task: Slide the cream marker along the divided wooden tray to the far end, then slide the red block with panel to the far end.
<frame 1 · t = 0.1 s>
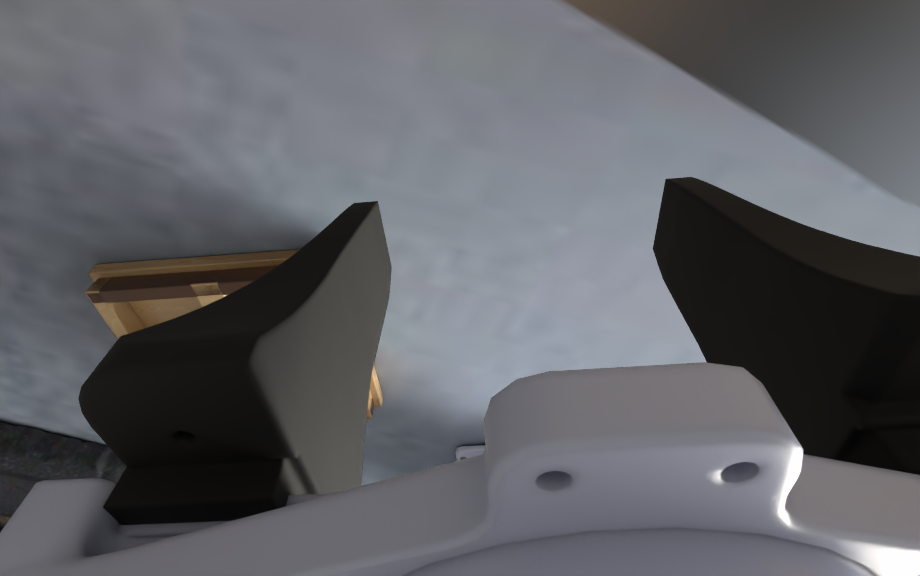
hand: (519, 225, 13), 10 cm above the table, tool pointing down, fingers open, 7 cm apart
cast iron trivet: (117, 495, 40), on the table
divided wooden tray: (255, 337, 29), on the table
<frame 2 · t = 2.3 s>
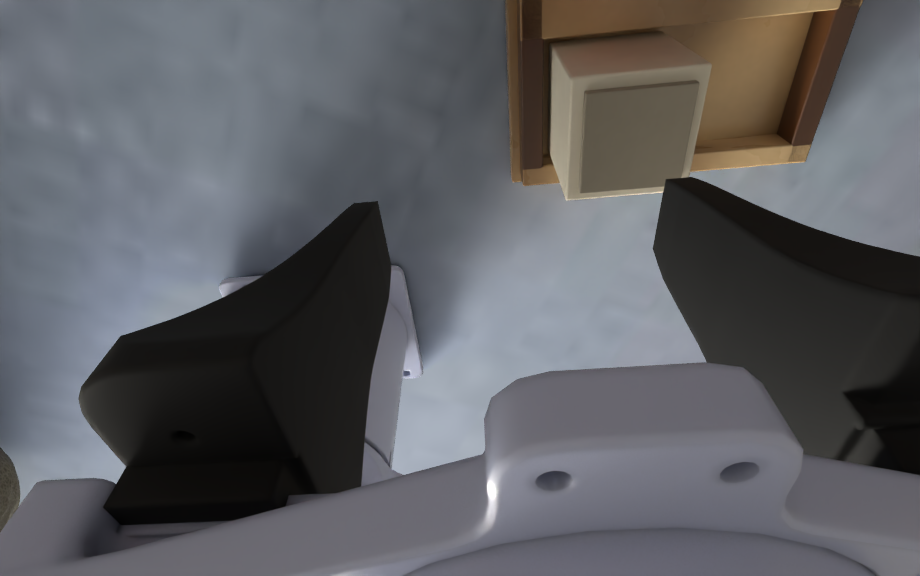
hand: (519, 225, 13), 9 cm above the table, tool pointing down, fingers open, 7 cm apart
cream marker: (616, 115, 17), point 3 cm above the table, slide at 0.0 cm
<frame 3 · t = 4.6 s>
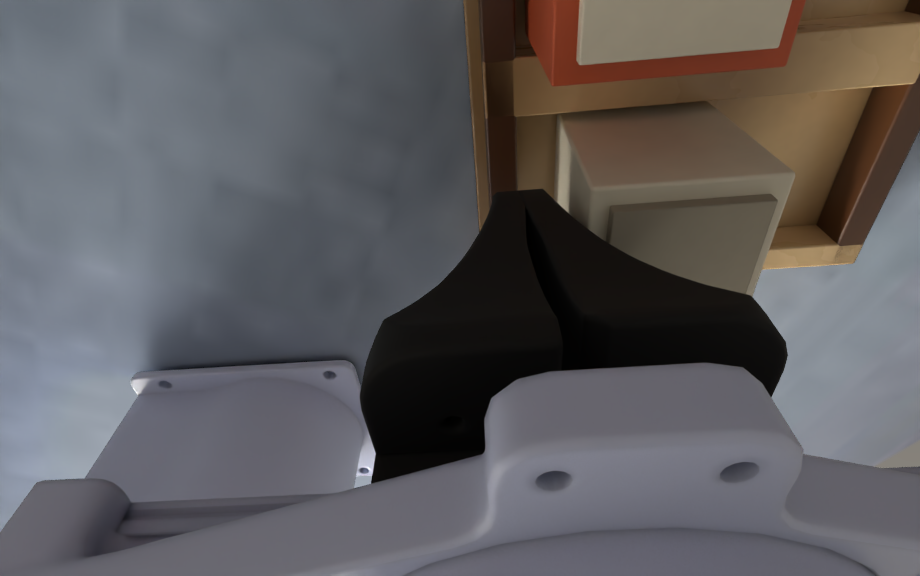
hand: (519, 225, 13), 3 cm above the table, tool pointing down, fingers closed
cream marker: (647, 216, 13), point 3 cm above the table, slide at 0.9 cm, touching gripper
divided wooden tray: (686, 51, 13), on the table
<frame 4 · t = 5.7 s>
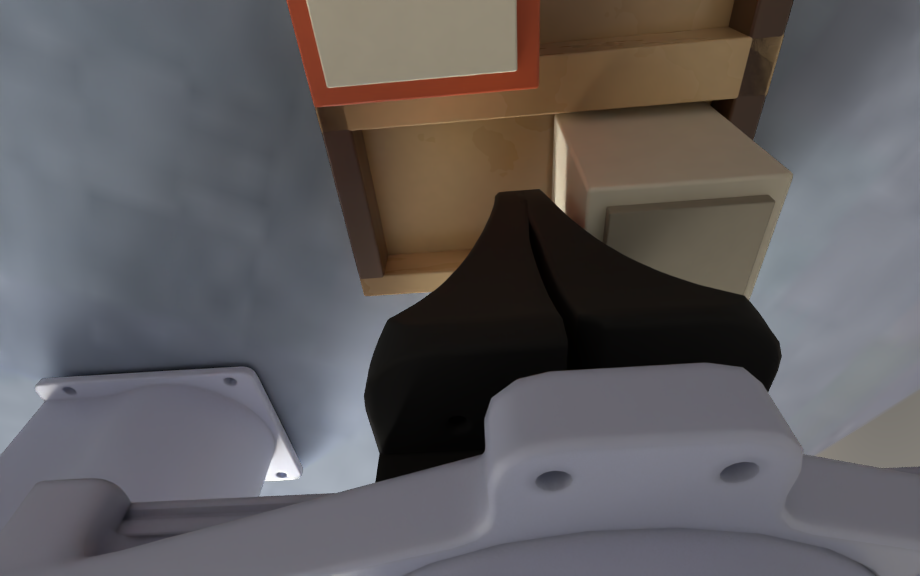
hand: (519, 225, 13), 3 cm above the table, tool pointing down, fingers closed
cream marker: (644, 216, 13), point 3 cm above the table, slide at 5.0 cm, touching gripper
divided wooden tray: (530, 65, 14), on the table
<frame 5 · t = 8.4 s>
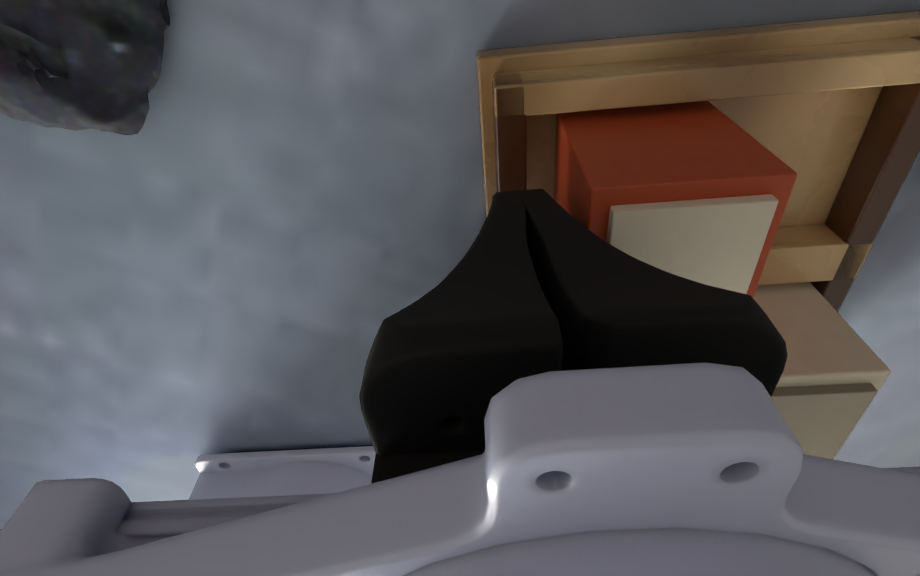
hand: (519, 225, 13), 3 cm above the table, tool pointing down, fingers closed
cream marker: (756, 368, 16), point 3 cm above the table, slide at 5.0 cm
red block with panel: (647, 216, 13), point 3 cm above the table, slide at 0.6 cm, touching gripper
divided wooden tray: (659, 239, 17), on the table
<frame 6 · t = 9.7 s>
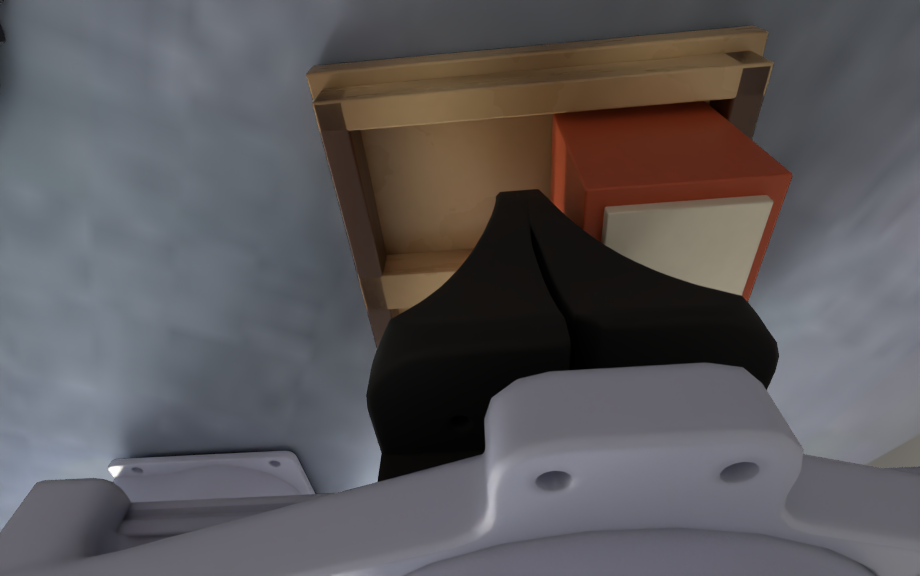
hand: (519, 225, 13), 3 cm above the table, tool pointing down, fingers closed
red block with panel: (643, 216, 13), point 3 cm above the table, slide at 5.0 cm, touching gripper
divided wooden tray: (528, 248, 17), on the table
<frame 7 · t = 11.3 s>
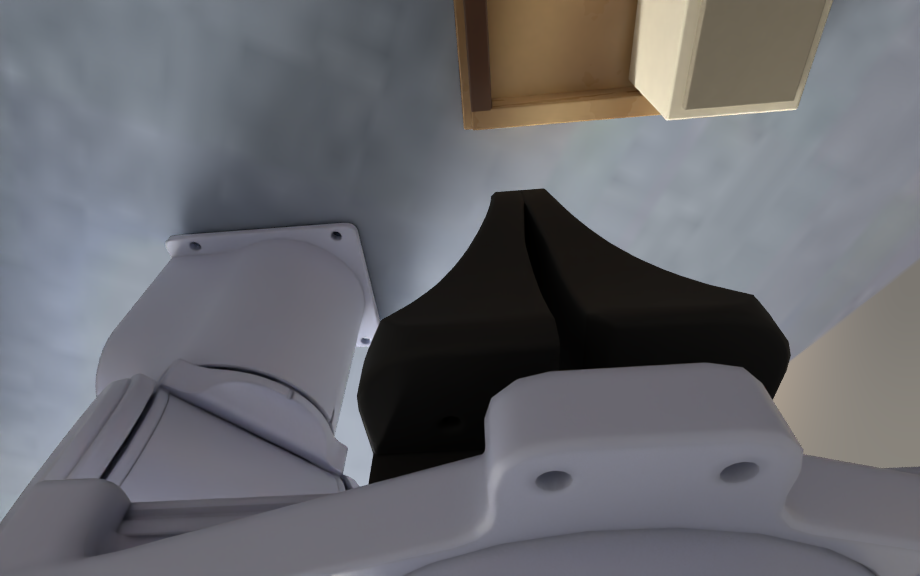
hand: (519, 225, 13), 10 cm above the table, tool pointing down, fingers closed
cream marker: (718, 30, 16), point 3 cm above the table, slide at 5.0 cm
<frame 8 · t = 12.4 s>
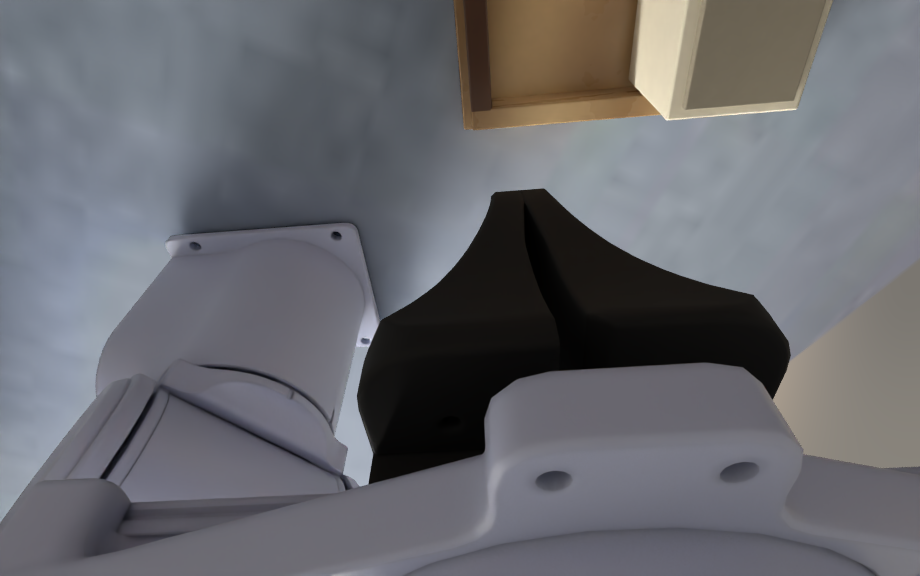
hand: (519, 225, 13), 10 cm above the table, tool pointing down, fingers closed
cream marker: (718, 30, 16), point 3 cm above the table, slide at 5.0 cm
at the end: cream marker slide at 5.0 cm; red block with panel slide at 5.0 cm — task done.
